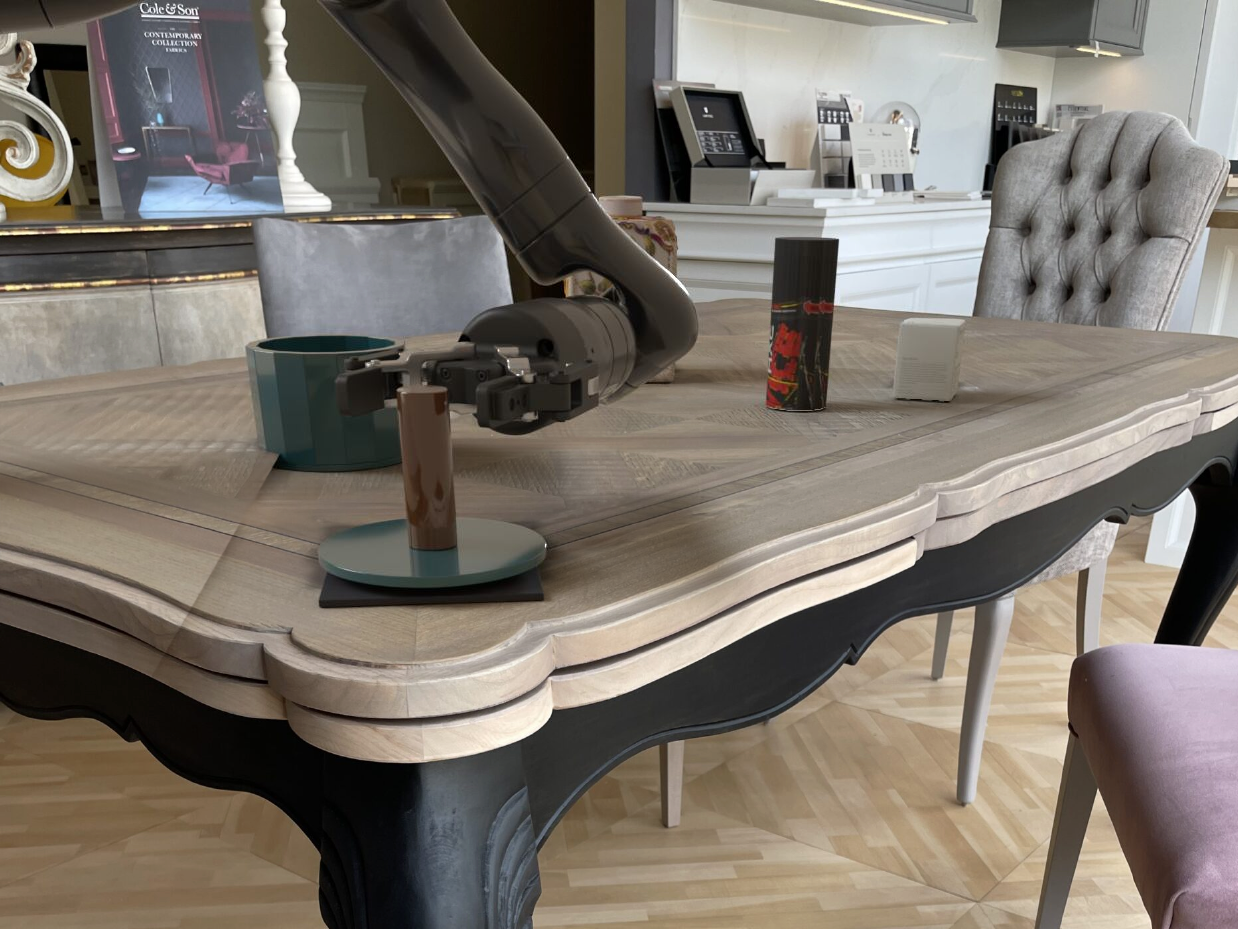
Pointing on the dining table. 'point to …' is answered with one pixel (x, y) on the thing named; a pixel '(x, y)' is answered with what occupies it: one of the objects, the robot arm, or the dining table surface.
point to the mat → (430, 592)
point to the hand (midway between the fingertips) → (411, 402)
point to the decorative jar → (649, 235)
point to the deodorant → (801, 322)
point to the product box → (928, 358)
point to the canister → (317, 404)
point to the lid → (430, 518)
